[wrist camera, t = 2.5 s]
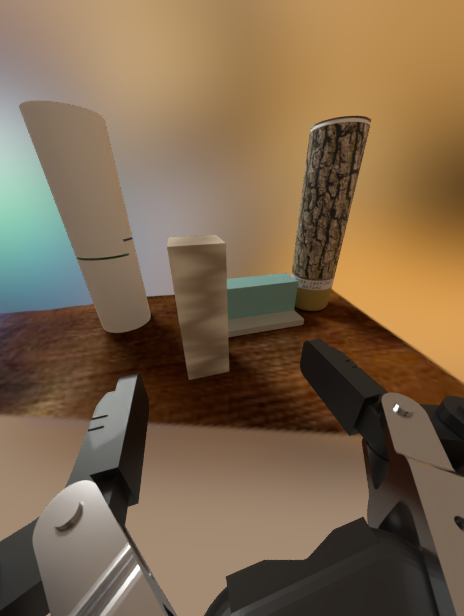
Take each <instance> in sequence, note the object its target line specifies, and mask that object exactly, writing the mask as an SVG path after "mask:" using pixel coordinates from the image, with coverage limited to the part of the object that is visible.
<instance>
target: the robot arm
mask: <svg viewBox="0 0 464 616" xmlns="http://www.w3.org/2000/svg"><path fill="white" fill-rule="evenodd" d="M300 368H301V372H302V374H303V376H304V377H305V378H306V380H307V381H308V382H309V383H310V385H311V386H312V387H313V389H314V390H315V391H316V393H317V394H318V395H319V397H320V398H321V399H322V400H323V402H324V403H325V404H326V406H327V407H328V408H329V410H330V411H331V412H332V414H333V415H334V416H335V417H336V419H337V420H338V421H339V423H340V424H341V425H342V427H343V428H344V429H345V431H346V432H347V433H348V434H349V436H351V435H354V434H357V433H360V434H361V435H362V436H363V439H362V447H363V453H364V460H365V467H366V473H367V481H368V488H369V501H368V509H367V518H368V524H367V523H366V521H365V519H364V517H362V518H359V519H357V520H355V521H353V522H350V523H348V524H346V525H343V526H341V527H339V528H336V529H334V530H333V531H332V532H331V533H330V534H329V535H328V537H326V539H325V540H324V541H323V542H322V543H321V544H320V545H319V546H318V547H317V549H316V550H315V551H314V552H313V553H312V554H311V555H310V556H309V557H308V558H307V559H305V560H263V561H261V562H258V563H256V564H254V565H251V566H249V567H247V568H245V569H242V570H240V571H238V572H235V573H233V574H231V575H229V576H226V580H227V587H226V588H225V589H224V590H223V591H222V592H221V593H220V594H219V595H218V596H217V598H216V599H215V600H214V602H213V603H212V604H211V605H210V607H209V608H208V610H207V612H206V613H205V615H204V616H464V398H461V397H456V396H448V397H445V398H444V399H443V401H442V402H441V404H440V405H423V404H418V403H417V402H415V401H414V400H412V399H410V398H408V397H406V396H404V395H401V394H398V393H388V392H387V391H386V390H385V389H384V388H382V387H381V386H380V385H379V384H378V383H377V382H376V381H374V380H373V379H372V378H371V377H370V376H369V375H368V374H366V373H365V372H364V371H363V370H362V369H361V368H359V367H357V365H356V364H355V363H354V362H353V361H351V360H350V359H349V358H348V357H347V356H346V355H345V354H343V353H342V352H341V351H339V350H337V349H335V348H333V347H329V346H328V345H327V344H326V343H325V342H324V341H322V340H321V339H315V340H310V341H306V342H304V344H303V350H302V356H301V361H300ZM148 415H149V401H148V396H147V393H146V390H145V387H144V384H143V381H142V378H141V375H140V374H135V375H129V376H124V377H120V378H119V381H118V384H117V387H116V390H115V391H114V392H109V393H106V395H105V396H104V397H103V398H102V400H101V401H100V402H99V403H98V405H97V407H96V409H95V412H94V415H93V417H92V421H91V422H90V425H89V428H88V432H87V433H86V436H85V439H84V441H83V444H82V446H81V449H80V452H79V454H78V457H77V460H76V462H75V465H74V467H73V471H72V473H71V475H70V478H69V481H68V483H67V485H66V487H65V488H64V490H62V491H61V492H60V493H59V494H58V495H56V496H55V497H54V498H53V499H52V501H51V502H50V503H49V504H48V505H47V507H46V508H45V509H44V511H43V512H42V514H41V515H40V516H39V517H38V518H37V519H36V520H34V521H33V522H32V523H30V524H28V525H27V526H25V527H23V528H22V529H20V530H18V531H17V532H15V533H14V534H12V535H11V536H9V537H7V538H5V539H4V540H2V541H1V542H0V616H46V615H47V614H48V613H50V614H51V616H177V615H176V613H175V611H174V610H173V608H172V606H171V604H170V603H169V601H168V599H167V598H166V596H165V595H164V593H163V591H162V589H161V588H160V586H159V585H158V583H157V582H156V580H155V578H154V577H153V574H152V573H151V571H150V569H149V567H148V565H147V564H146V562H145V560H144V559H143V557H142V555H141V553H140V551H139V550H138V548H137V546H136V544H135V543H134V541H133V539H132V537H131V535H130V534H129V532H128V530H127V528H126V527H125V521H126V514H127V508H128V506H132V505H135V504H138V501H139V492H140V484H141V475H142V466H143V458H144V449H145V440H146V432H147V423H148Z"/></svg>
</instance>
